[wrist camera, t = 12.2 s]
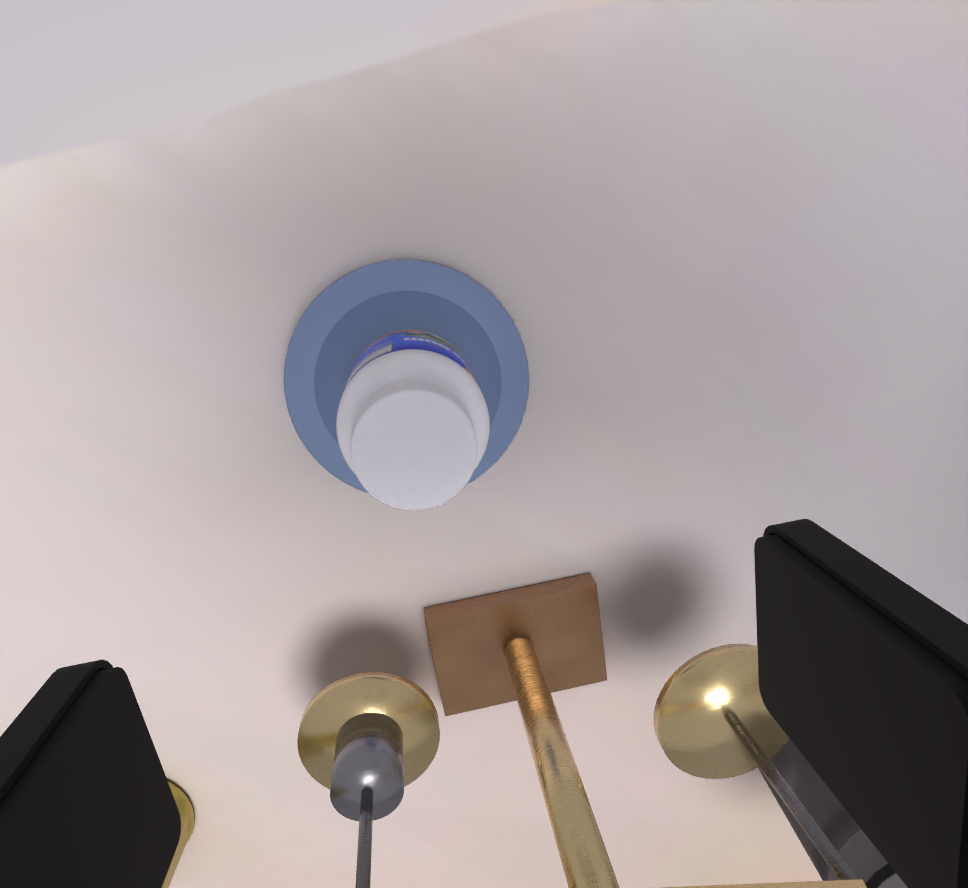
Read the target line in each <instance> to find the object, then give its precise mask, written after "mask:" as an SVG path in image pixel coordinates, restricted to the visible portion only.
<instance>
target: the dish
mask: <svg viewBox="0 0 968 888" xmlns="http://www.w3.org/2000/svg"><path fill="white" fill-rule="evenodd" d="M401 330H420V331H425V332H429V333H432V334H434V335H437V336H439V337H441V338H442V339H444V340H445V341H447V342H448V343H449V344H451V345H452V346H453V347H454V348H455V349H456V350H457V351H458V352H459V354H460V355H461V356H462V358H463V359H464V361H465V363H466V364H467V366H468V368H469V370H470V371H471V373H472V375H473V377H474V379H475V380H476V382H477V384H478V386H479V388H480V389H481V391H482V394H483V396H484V399H485V402H486V405H487V408H488V413H489V422H490V431H489V438H488V443H487V447H486V450H485V453H484V455H483V457H482V459H481V461H480V463H479V464H478V466H477V467H476V469H475V470H474V471H473V474H472V476H471V478H470V480H469V481H468V483H470V482H472V481H473V480H475V479H476V478H478V477H479V476H480V475H482V474H483V473H484V472H486V471H487V470H488V469H489V468H490V467H491V466H492V465H493V464H494V463H495V462H496V461H497V460H498V459H499V458H500V457H501V456H502V454H503V453H504V452H505V451H506V449H507V448H508V446H509V445H510V443H511V442H512V440H513V439H514V437H515V435H516V433H517V431H518V428H519V426H520V424H521V421H522V418H523V415H524V412H525V409H526V403H527V398H528V388H529V373H528V362H527V357H526V353H525V348H524V345H523V343H522V340H521V337H520V334H519V332H518V330H517V328H516V326H515V324H514V322H513V320H512V319H511V317H510V316H509V314H508V313H507V311H506V310H505V308H504V307H503V306H502V305H501V304H500V303H499V301H498V300H497V299H496V298H495V297H494V296H493V295H492V294H491V293H490V292H489V291H487V290H486V289H485V288H484V287H483V286H482V285H480V284H479V283H477V282H476V281H474V280H473V279H471V278H470V277H468V276H467V275H464V274H462V273H460V272H458V271H456V270H454V269H452V268H449V267H446V266H443V265H440V264H436V263H433V262H427V261H421V260H408V259H399V260H389V261H383V262H378V263H374V264H370V265H367V266H365V267H362V268H360V269H357V270H354V271H353V272H351V273H349V274H347V275H345V276H344V277H342V278H340V279H338V280H337V281H336V282H334V283H333V284H332V285H330V286H329V287H328V288H326V289H325V290H324V291H323V292H322V293H321V294H320V295H319V296H318V297H317V298H316V299H315V300H314V301H313V302H312V303H311V305H310V306H309V307H308V309H307V310H306V311H305V313H304V314H303V316H302V317H301V319H300V321H299V323H298V325H297V326H296V328H295V330H294V333H293V336H292V338H291V341H290V343H289V347H288V351H287V356H286V360H285V370H284V388H285V396H286V402H287V407H288V411H289V414H290V417H291V420H292V423H293V425H294V427H295V429H296V431H297V433H298V435H299V437H300V439H301V440H302V442H303V443H304V445H305V446H306V448H307V449H308V451H309V452H310V453H311V454H312V456H313V457H314V458H315V459H316V460H317V461H318V462H319V463H320V464H321V465H322V466H323V467H324V468H325V469H326V470H327V471H329V472H330V473H331V474H333V475H334V476H335V477H337V478H338V479H340V480H341V481H343V482H345V483H346V484H348V485H350V486H352V487H354V488H356V489H359V490H361V491H364V492H367V493H369V492H368V491H367V490H366V489H365V488H364V487H363V486H362V484H361V483H360V481H359V480H358V478H357V476H356V475H355V474H354V472H353V471H352V470H351V469H350V467H349V466H348V464H347V463H346V461H345V459H344V457H343V454H342V452H341V449H340V446H339V443H338V438H337V428H336V421H337V413H338V407H339V404H340V400H341V397H342V394H343V392H344V389H345V386H346V384H347V381H348V379H349V376H350V374H351V371H352V369H353V367H354V365H355V363H356V361H357V359H358V358H359V356H360V355H361V354H362V352H363V351H364V350H365V349H366V348H367V347H368V346H369V345H371V344H372V343H373V342H375V341H376V340H378V339H379V338H381V337H383V336H385V335H387V334H390V333H392V332H396V331H401ZM468 483H467V484H468ZM369 494H370V493H369Z"/></svg>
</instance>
